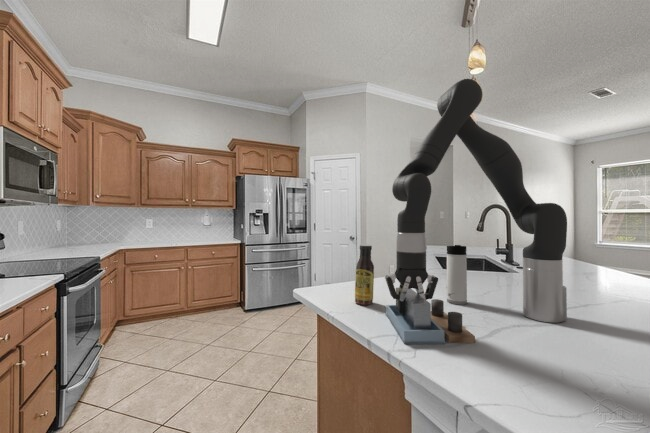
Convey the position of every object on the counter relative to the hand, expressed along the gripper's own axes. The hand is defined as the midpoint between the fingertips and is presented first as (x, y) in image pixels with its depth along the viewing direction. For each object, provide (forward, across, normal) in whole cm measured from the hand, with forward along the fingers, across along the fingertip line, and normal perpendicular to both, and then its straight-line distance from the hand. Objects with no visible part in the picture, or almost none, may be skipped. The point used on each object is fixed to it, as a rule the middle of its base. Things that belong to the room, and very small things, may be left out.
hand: (411, 314), depth 75 cm
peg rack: (+3, -9, 0) cm, 10 cm away
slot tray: (+4, 0, 0) cm, 4 cm away
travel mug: (+4, -22, -23) cm, 32 cm away
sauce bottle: (+4, +10, -22) cm, 24 cm away
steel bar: (+1, 0, 0) cm, 1 cm away
